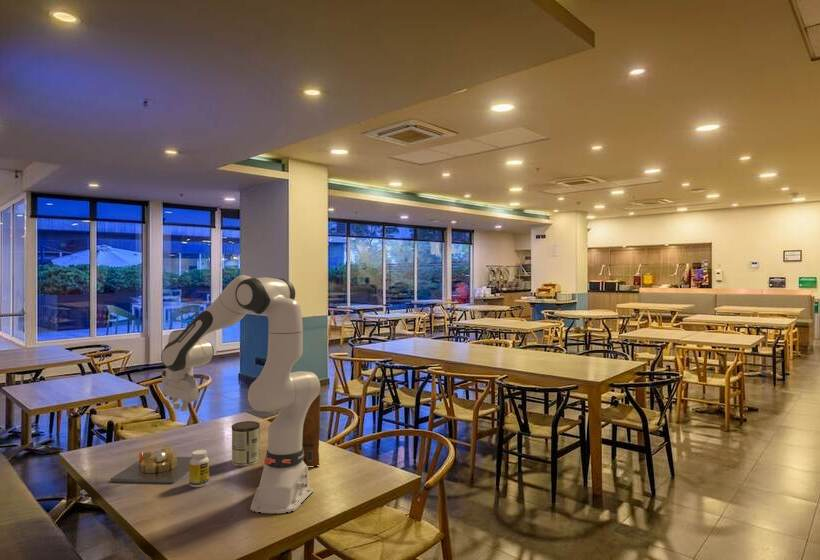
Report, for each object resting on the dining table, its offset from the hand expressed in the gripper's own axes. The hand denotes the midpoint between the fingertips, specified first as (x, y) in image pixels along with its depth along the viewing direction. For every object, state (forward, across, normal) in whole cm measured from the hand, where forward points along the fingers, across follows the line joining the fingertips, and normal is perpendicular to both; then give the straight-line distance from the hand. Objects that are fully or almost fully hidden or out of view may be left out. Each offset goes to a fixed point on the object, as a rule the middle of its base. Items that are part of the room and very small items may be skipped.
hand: (180, 409), depth 189 cm
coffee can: (+21, -14, -18) cm, 32 cm away
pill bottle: (+21, -21, +4) cm, 30 cm away
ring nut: (+20, +3, +6) cm, 21 cm away
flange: (+21, +2, +7) cm, 22 cm away
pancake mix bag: (+21, -32, -31) cm, 50 cm away
